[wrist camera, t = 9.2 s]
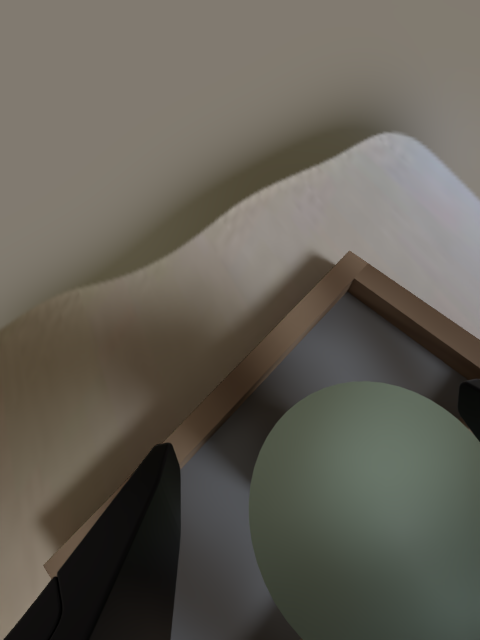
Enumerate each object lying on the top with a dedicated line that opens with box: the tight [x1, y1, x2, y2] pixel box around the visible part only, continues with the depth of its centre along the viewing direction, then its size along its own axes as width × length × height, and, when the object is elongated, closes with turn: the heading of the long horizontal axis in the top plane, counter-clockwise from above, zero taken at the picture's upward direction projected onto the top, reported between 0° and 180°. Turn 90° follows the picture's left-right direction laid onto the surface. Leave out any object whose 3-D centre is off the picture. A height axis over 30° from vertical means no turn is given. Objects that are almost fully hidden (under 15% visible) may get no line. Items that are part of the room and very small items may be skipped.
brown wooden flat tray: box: [43, 251, 480, 640], centre depth 15 cm, size 20×10×2 cm, turn 136°
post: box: [249, 381, 480, 640], centre depth 10 cm, size 4×4×11 cm
